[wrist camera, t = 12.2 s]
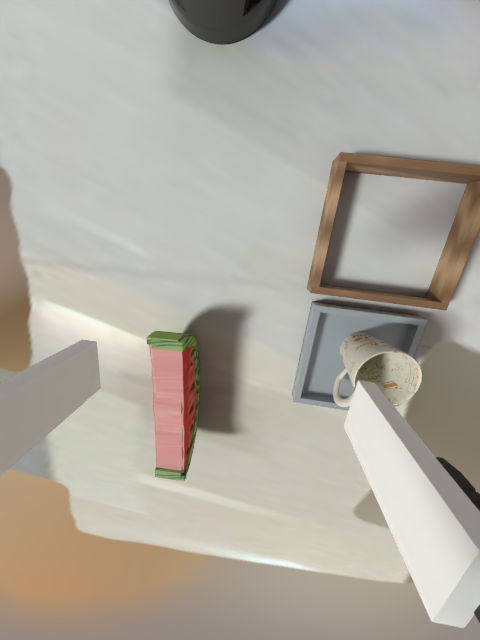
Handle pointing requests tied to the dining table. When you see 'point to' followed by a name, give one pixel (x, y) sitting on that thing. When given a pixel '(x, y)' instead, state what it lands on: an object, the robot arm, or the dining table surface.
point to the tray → (325, 340)
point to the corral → (472, 214)
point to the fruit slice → (174, 401)
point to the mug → (377, 368)
